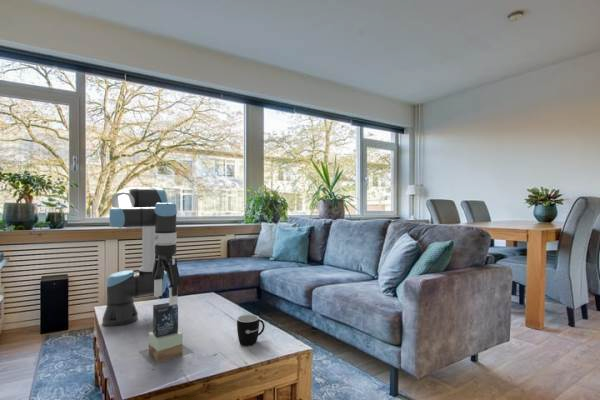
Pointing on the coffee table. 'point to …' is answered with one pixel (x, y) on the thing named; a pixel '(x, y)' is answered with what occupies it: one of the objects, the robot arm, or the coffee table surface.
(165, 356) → the tower bottom
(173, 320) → the box
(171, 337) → the tower top
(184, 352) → the felt mat
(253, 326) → the mug
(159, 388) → the coffee table surface
